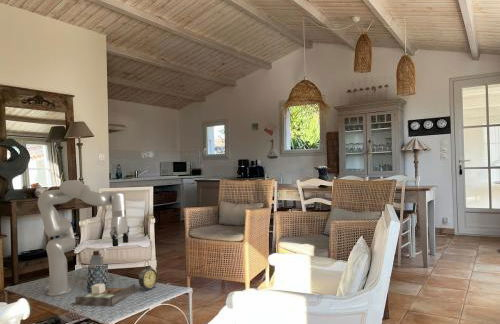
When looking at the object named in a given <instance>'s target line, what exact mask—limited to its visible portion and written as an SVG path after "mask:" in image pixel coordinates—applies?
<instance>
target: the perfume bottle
mask: <svg viewBox="0 0 500 324" xmlns="http://www.w3.org/2000/svg"><path fill="white" fill-rule="evenodd" d="M102 255H103V254H102V253H100V250H93V251H92V254H91V255H90V257H91V258H90V259H89V267H90V266H91V265H103V266H104V256H102Z"/></svg>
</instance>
